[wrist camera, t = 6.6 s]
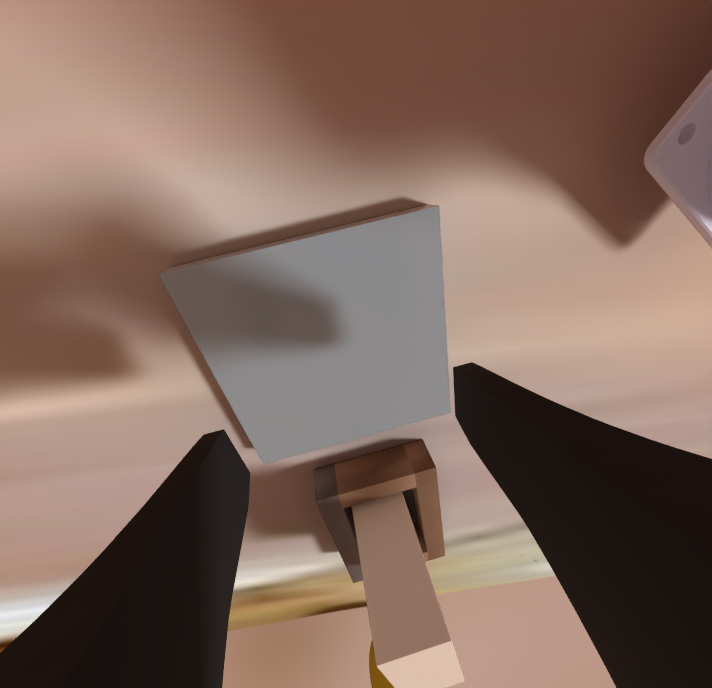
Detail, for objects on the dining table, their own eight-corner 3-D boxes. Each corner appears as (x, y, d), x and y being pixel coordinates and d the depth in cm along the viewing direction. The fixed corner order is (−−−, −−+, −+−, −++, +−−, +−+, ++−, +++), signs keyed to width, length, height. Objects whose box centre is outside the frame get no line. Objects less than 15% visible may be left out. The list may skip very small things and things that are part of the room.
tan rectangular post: (393, 466, 18) (451, 640, 11) (410, 517, 21) (464, 681, 14) (347, 481, 18) (376, 666, 11) (371, 530, 21) (406, 701, 14)
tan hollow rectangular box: (422, 439, 17) (435, 467, 15) (433, 526, 22) (445, 555, 20) (314, 469, 17) (315, 501, 15) (349, 551, 22) (353, 582, 20)
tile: (169, 267, 11) (157, 274, 10) (428, 204, 11) (439, 205, 10) (265, 449, 16) (263, 464, 15) (442, 400, 16) (450, 412, 15)
